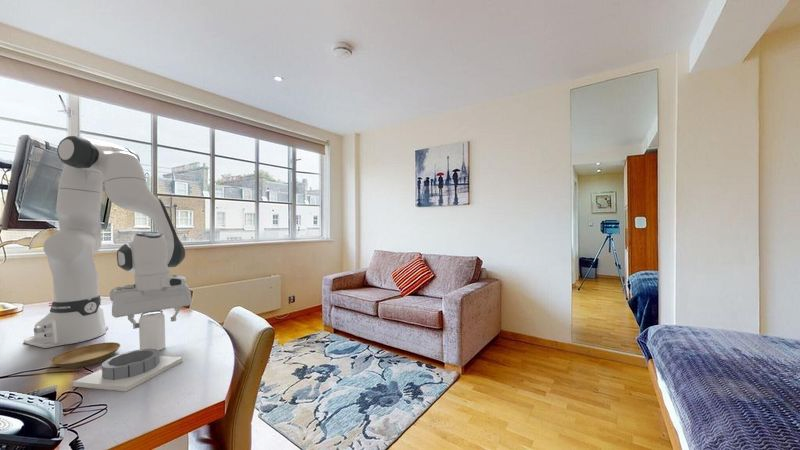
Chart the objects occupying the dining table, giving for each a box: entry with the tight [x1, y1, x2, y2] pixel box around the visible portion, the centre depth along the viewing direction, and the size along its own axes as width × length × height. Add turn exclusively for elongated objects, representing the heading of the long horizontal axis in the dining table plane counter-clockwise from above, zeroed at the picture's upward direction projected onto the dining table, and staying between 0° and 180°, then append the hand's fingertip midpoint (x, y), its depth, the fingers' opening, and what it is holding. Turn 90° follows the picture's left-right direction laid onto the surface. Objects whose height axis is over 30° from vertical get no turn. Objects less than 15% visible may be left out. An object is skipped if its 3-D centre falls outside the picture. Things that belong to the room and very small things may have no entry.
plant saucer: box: [50, 341, 121, 369], centre depth 93 cm, size 15×15×3 cm
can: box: [138, 310, 166, 352], centre depth 100 cm, size 6×6×12 cm
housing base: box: [72, 349, 184, 392], centre depth 84 cm, size 16×16×4 cm
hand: (155, 324), depth 100 cm, fingers open, 8 cm apart
